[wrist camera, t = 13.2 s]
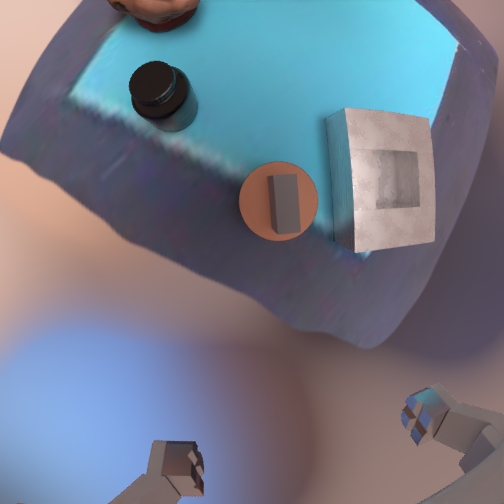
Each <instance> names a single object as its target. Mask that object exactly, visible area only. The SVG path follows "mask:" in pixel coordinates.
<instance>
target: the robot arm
mask: <svg viewBox="0 0 504 504" xmlns="http://www.w3.org/2000/svg"><path fill="white" fill-rule="evenodd" d="M406 404H407V405H406V406H405V408H404V409H403V410H402V413H401V421H402V423H403V426H404V427H405V429H407V430H410V431H411V435H410V436H411V437H412V439H413V440H414V442H415V443H416V444H417V446H418V445H421V444H423V443H425V442H427V441H429V440H431V439H433V438H434V440H436V441H438V442H440V443H442V444H444V445H446V446H449V447H451V448H453V449H455V450H457V451H459V452H462V453H464V454H465V455H464V457H463V458H462V459H461V460H460V462H459V466H460V467H461V469H462V470H463V471H464V473H465V474H464V475H463V476H461V477H460V478H459V479H457V480H455V481H454V482H452V483H451V484H450V485H448V486H446V487H445V488H443V489H442V490H440V491H438V492H437V493H435V494H433V495H432V496H430V497H428V498H426V499H424V500H423V501H421V502H419V503H417V504H504V414H503V413H499V412H495V411H491V410H487V409H483V408H479V407H476V406H471V405H468V404H464V403H461V404H459V403H458V402H457V401H456V400H455V399H454V398H453V397H452V396H451V394H450V393H449V392H448V391H447V390H446V389H445V388H444V387H443V386H442V385H441V384H439V383H436V384H434V385H432V386H430V387H428V388H425V389H423V390H421V391H419V392H416V393H414V394H412V395H409V397H407V399H406ZM203 474H204V462H203V457H202V455H201V453H200V452H199V451H198V446H197V444H196V442H195V441H162V440H161V441H160V440H154V442H153V443H152V448H151V452H150V457H149V462H148V468H147V473H146V474H142V475H141V476H140V477H139V478H138V479H136V480H135V481H134V482H133V483H132V484H131V485H130V486H128V487H127V488H126V489H125V490H124V491H123V492H121V494H119V495H118V496H117V497H116V498H114V499H113V500H112V501H111V502H110V503H108V504H177V502H178V501H179V500H180V499H181V496H204V482H203V480H202V478H201V476H202V475H203ZM17 504H23V503H17Z"/></svg>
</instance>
